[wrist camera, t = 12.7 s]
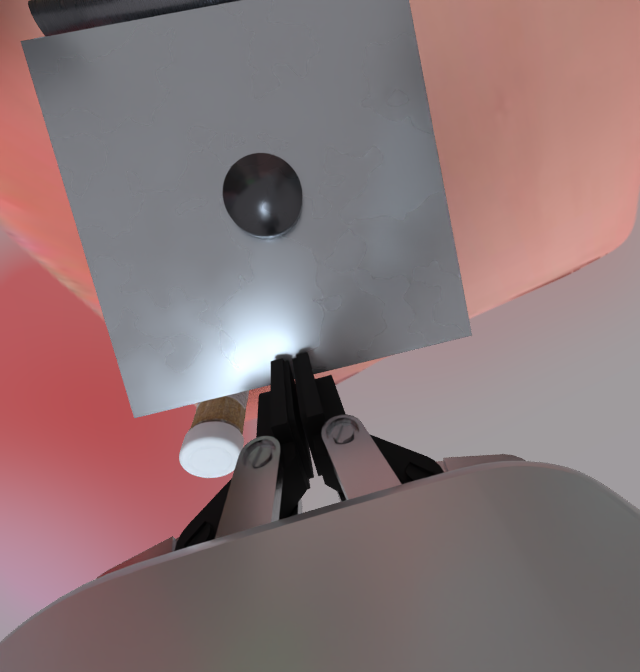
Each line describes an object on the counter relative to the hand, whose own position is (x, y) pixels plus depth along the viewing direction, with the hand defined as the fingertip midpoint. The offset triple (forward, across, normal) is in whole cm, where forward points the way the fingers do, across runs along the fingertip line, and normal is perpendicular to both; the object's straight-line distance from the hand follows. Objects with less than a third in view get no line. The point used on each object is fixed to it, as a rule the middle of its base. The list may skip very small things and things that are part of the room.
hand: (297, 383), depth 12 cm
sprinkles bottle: (+19, +8, +8) cm, 22 cm away
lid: (+4, -1, -8) cm, 9 cm away
